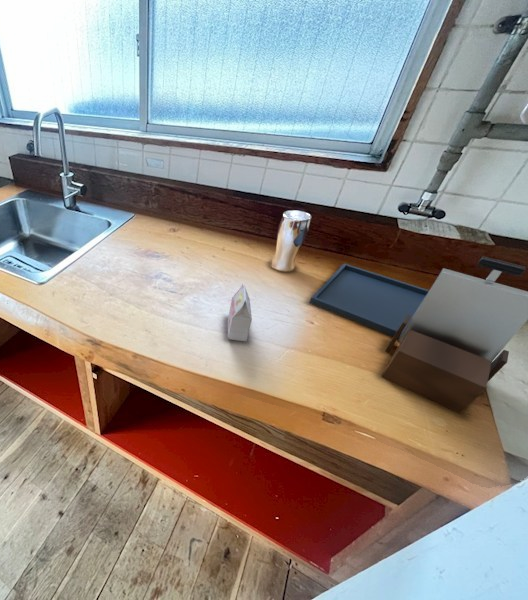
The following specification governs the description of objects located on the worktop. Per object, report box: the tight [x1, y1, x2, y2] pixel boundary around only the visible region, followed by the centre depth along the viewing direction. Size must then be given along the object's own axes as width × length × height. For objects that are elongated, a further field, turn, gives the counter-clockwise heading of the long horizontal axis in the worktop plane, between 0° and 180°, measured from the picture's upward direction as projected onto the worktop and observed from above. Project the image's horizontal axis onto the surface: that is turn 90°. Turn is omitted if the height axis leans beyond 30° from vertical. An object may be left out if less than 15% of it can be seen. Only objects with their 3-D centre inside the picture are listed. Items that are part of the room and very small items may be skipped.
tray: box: [308, 263, 430, 340], centre depth 74 cm, size 28×22×2 cm
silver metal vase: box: [270, 209, 312, 273], centre depth 85 cm, size 7×7×15 cm
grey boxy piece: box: [227, 283, 253, 342], centre depth 67 cm, size 4×7×10 cm, turn 166°
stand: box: [381, 315, 510, 415], centre depth 56 cm, size 14×11×8 cm
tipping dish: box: [397, 256, 528, 362], centre depth 55 cm, size 12×19×3 cm
